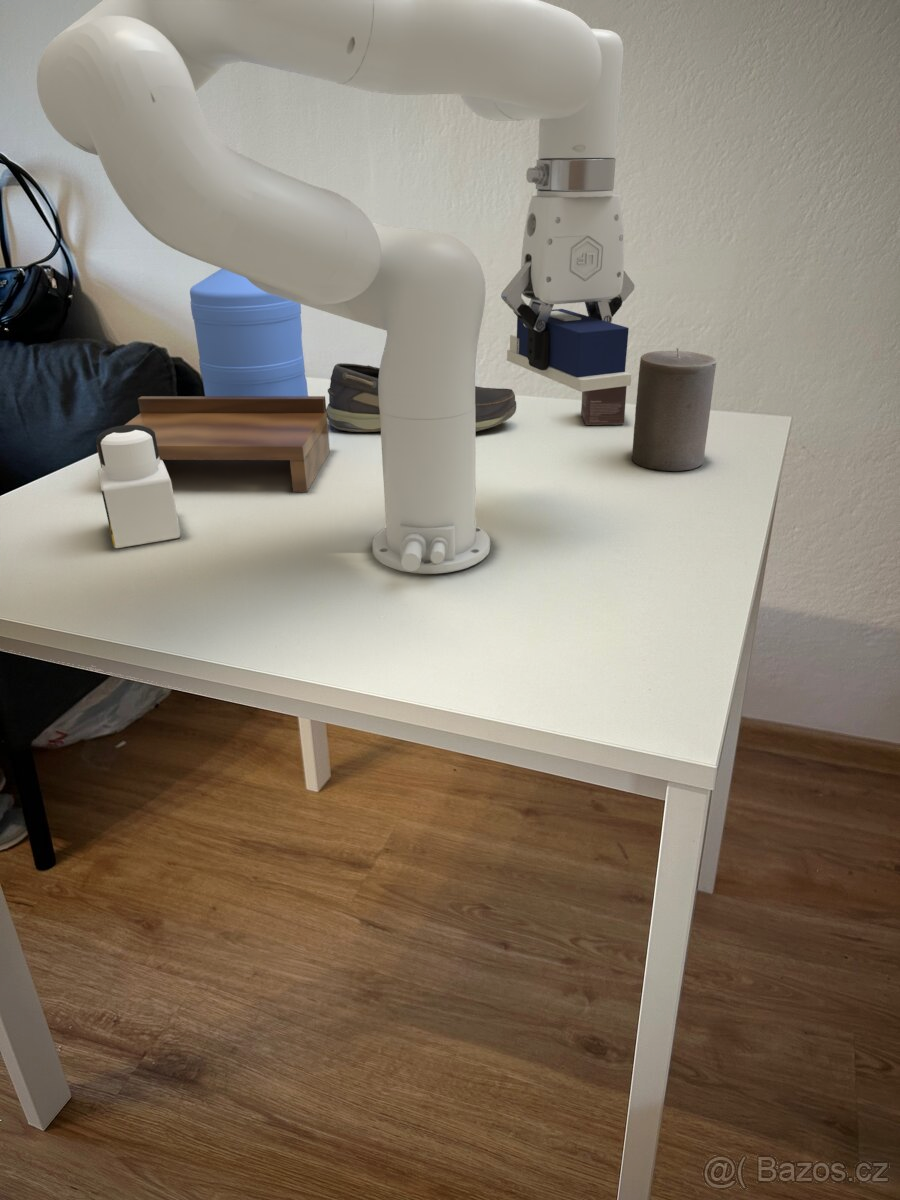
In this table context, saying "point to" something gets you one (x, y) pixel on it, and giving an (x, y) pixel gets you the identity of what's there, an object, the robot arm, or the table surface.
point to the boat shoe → (360, 402)
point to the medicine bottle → (136, 487)
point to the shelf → (240, 430)
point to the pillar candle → (672, 409)
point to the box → (604, 406)
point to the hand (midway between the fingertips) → (565, 363)
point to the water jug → (247, 339)
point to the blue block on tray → (578, 351)
